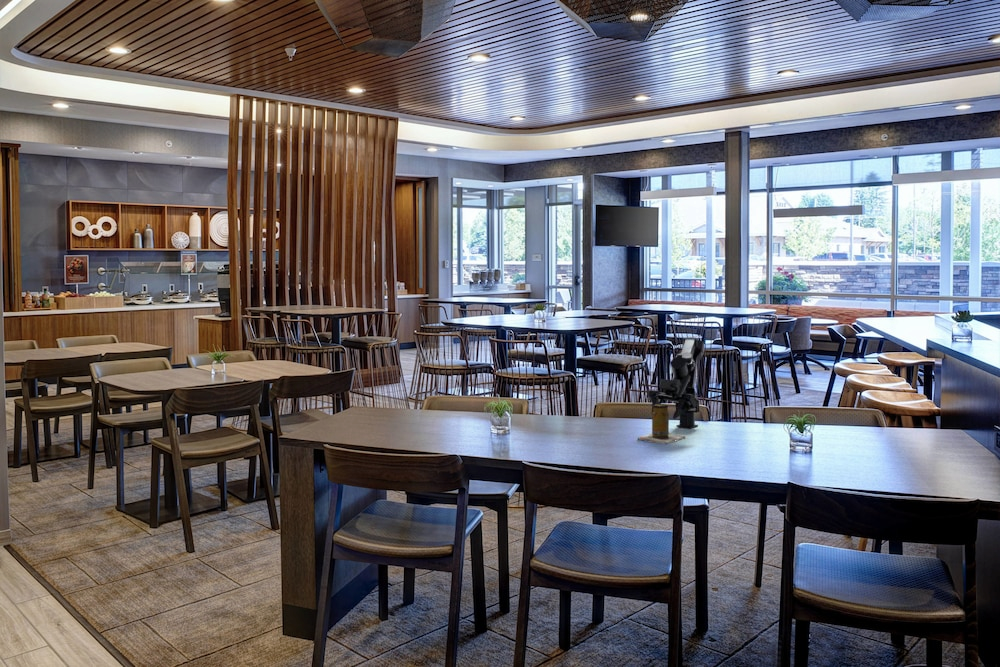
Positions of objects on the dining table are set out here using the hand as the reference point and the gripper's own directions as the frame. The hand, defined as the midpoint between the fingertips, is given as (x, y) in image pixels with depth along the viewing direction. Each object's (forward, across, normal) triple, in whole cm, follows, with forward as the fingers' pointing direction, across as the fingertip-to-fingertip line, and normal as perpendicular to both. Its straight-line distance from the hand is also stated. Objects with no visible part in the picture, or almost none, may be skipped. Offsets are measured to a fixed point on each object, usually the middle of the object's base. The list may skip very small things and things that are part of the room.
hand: (662, 416), depth 297 cm
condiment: (+7, +1, +4) cm, 8 cm away
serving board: (+7, 0, +5) cm, 8 cm away
